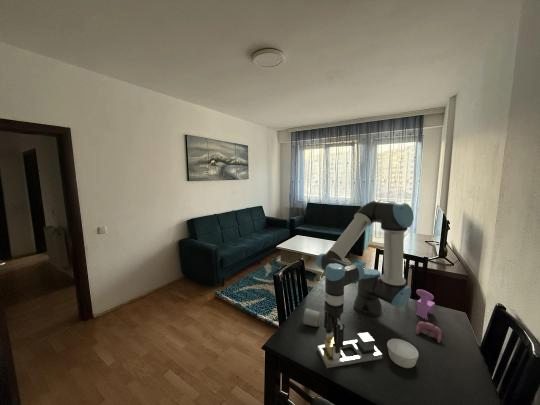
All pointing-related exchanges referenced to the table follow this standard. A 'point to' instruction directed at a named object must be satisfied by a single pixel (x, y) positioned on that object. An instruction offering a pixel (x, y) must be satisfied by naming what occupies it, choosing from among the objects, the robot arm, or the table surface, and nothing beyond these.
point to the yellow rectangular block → (329, 348)
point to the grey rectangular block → (365, 343)
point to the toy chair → (424, 303)
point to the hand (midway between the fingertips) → (332, 352)
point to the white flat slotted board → (349, 360)
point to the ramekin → (402, 353)
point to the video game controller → (433, 328)
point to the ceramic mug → (312, 317)
